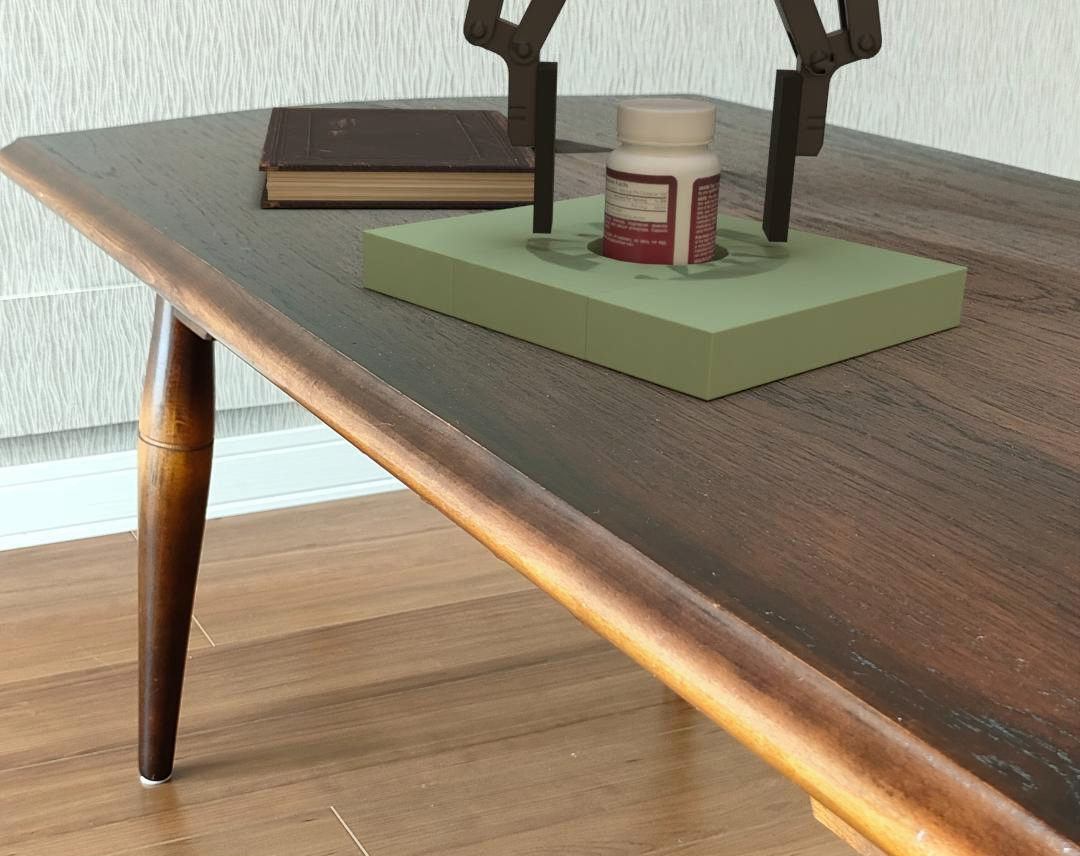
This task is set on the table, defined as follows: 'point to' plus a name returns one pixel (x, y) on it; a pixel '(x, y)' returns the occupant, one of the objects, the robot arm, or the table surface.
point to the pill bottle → (662, 183)
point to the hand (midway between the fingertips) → (658, 230)
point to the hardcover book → (393, 159)
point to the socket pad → (667, 295)
